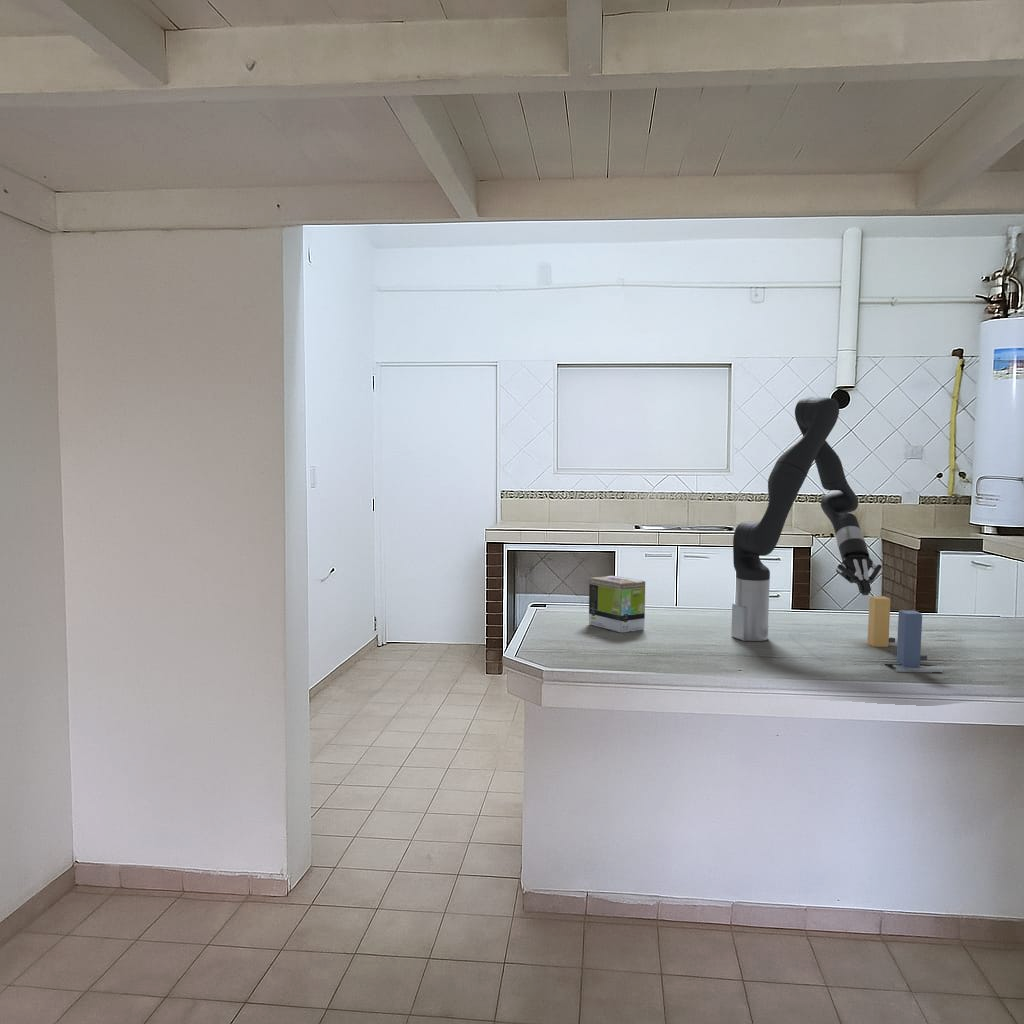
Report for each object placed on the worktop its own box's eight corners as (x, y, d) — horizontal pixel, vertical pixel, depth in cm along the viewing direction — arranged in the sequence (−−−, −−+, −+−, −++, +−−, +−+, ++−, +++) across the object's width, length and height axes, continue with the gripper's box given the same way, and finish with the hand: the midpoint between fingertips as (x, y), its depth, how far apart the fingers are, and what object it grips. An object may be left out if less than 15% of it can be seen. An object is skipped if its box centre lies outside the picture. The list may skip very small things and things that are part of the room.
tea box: (645, 629, 249) (646, 580, 248) (620, 633, 244) (621, 583, 243) (612, 621, 262) (613, 574, 261) (587, 624, 256) (588, 576, 255)
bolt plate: (942, 672, 204) (942, 668, 204) (896, 671, 204) (896, 667, 204) (897, 647, 230) (897, 643, 230) (856, 646, 230) (856, 642, 230)
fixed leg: (929, 666, 206) (932, 614, 205) (903, 665, 206) (905, 613, 205) (922, 662, 210) (924, 610, 209) (896, 661, 210) (898, 610, 209)
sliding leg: (897, 647, 225) (899, 599, 224) (873, 646, 225) (875, 598, 224) (891, 643, 229) (893, 596, 228) (867, 643, 229) (869, 596, 228)
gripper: (832, 537, 244) (846, 585, 233) (878, 537, 243) (894, 586, 232) (825, 552, 250) (838, 601, 238) (870, 553, 249) (886, 601, 238)
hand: (866, 593), depth 235 cm, fingers closed
